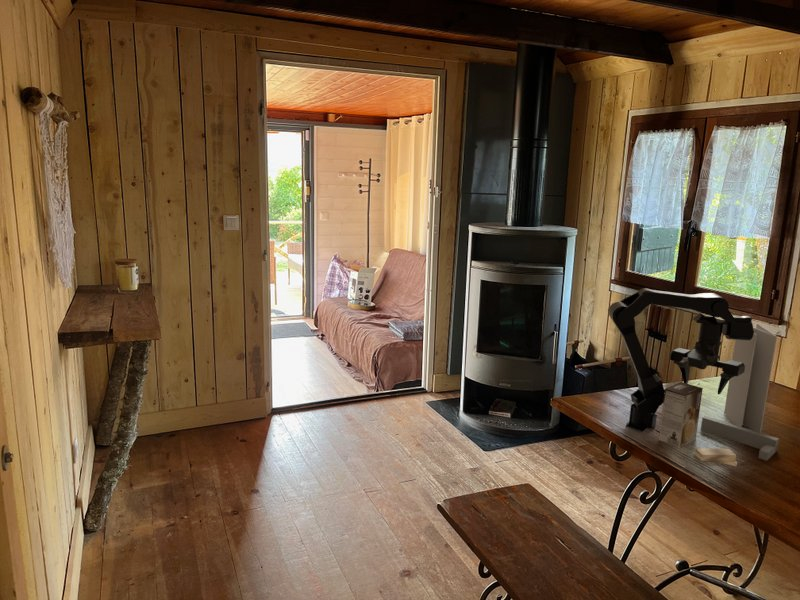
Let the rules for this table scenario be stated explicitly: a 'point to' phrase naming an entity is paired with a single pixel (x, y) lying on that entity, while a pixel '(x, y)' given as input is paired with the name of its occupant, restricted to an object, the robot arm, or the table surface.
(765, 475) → the table surface
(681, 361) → the robot arm
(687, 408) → the coffee box
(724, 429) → the bracket
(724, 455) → the offcut upper
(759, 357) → the brochure
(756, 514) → the table surface
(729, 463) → the offcut lower
